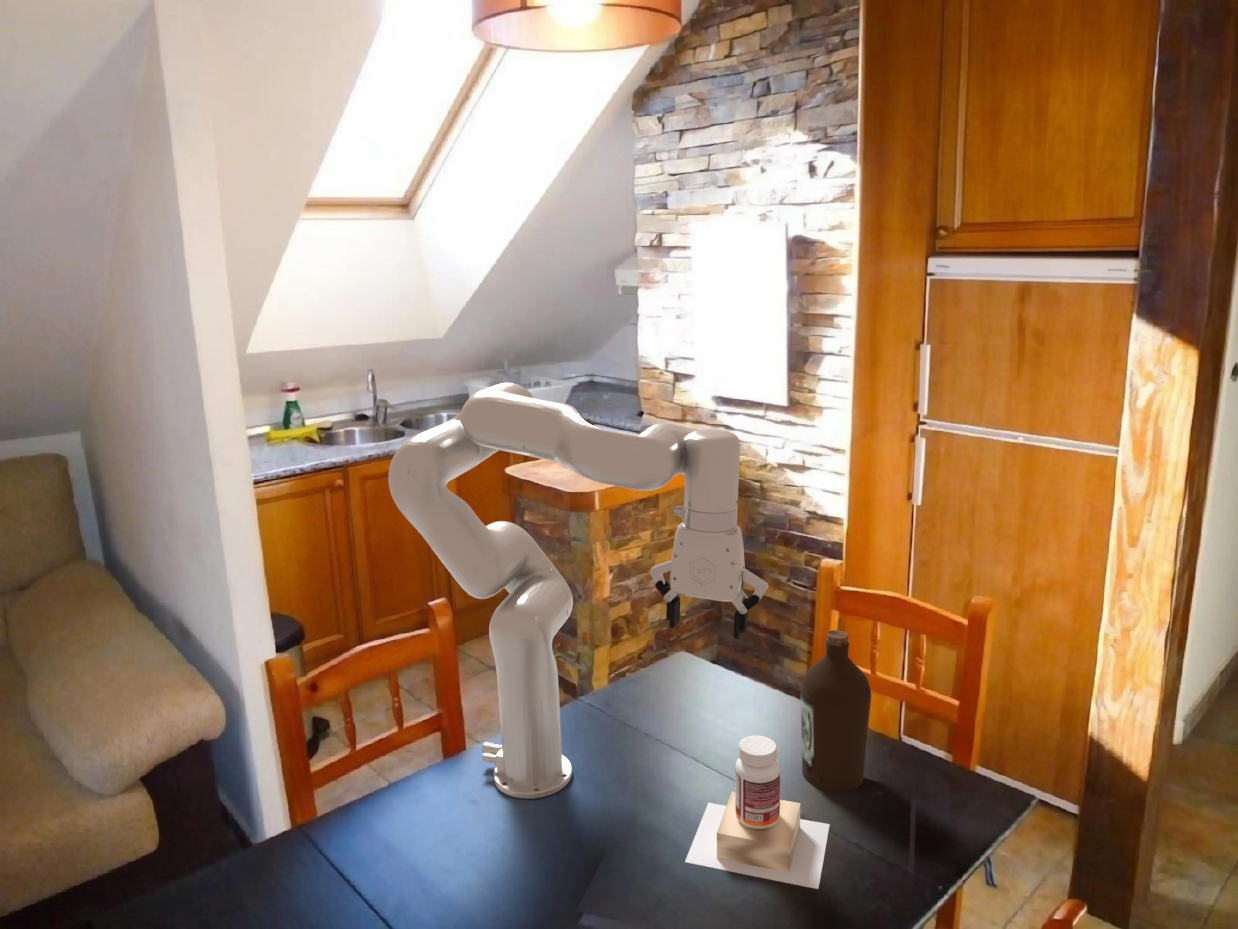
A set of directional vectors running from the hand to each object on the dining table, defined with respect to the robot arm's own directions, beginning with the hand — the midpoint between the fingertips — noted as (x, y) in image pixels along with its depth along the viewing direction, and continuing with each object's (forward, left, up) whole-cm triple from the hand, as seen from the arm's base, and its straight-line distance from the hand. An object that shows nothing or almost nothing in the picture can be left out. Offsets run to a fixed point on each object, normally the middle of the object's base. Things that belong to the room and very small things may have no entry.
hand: (706, 629), depth 131 cm
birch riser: (+10, -8, -28) cm, 30 cm away
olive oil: (+18, +12, -29) cm, 36 cm away
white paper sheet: (+10, -8, -29) cm, 31 cm away
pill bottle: (+9, -8, -24) cm, 27 cm away
